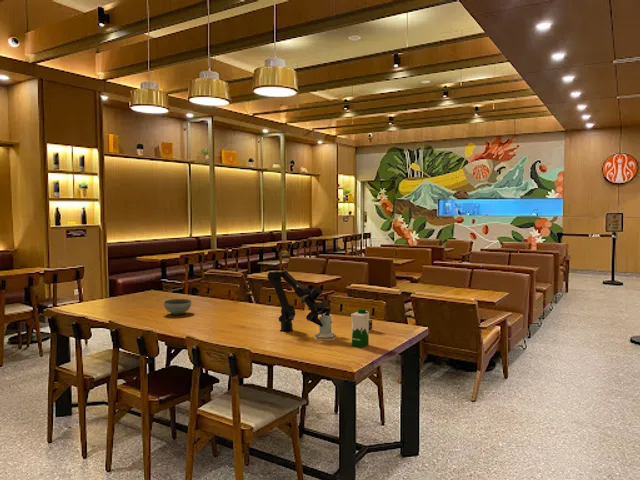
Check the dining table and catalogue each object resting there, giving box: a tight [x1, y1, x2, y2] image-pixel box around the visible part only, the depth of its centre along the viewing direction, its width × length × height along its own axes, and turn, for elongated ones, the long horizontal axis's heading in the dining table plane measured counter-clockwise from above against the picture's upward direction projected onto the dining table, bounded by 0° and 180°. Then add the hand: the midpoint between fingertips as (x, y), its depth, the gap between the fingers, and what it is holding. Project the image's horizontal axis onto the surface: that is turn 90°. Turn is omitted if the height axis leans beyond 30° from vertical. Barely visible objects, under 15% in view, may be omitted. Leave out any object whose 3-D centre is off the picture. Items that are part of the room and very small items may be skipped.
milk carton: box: [350, 308, 370, 348], centre depth 272 cm, size 9×9×20 cm
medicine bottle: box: [365, 310, 373, 332], centre depth 307 cm, size 7×7×12 cm
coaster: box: [314, 332, 337, 341], centre depth 290 cm, size 12×12×2 cm
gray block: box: [318, 315, 332, 337], centre depth 290 cm, size 5×5×12 cm
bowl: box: [162, 298, 193, 316], centre depth 363 cm, size 21×21×10 cm
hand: (326, 324), depth 289 cm, fingers open, 9 cm apart
